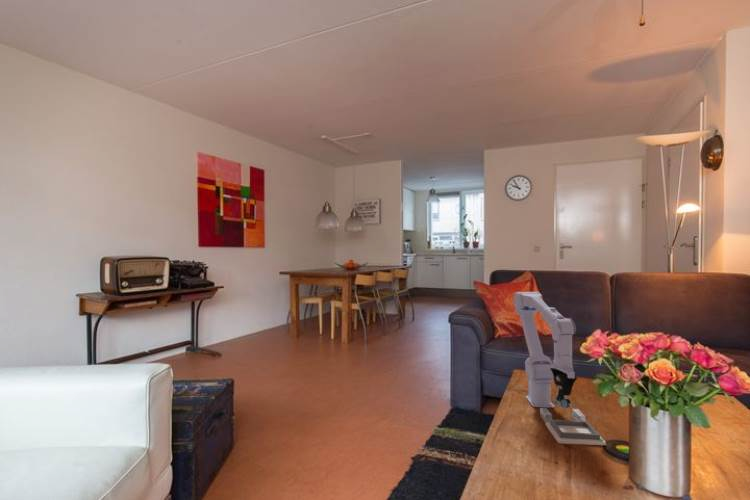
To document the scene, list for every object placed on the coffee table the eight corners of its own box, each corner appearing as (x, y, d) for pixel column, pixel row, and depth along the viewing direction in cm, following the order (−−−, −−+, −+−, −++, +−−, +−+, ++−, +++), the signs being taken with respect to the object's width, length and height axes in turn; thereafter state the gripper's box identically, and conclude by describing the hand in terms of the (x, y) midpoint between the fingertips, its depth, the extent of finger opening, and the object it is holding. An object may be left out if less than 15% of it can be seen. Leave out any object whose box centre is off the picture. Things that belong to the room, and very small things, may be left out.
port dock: (545, 425, 131) (545, 417, 131) (588, 426, 130) (588, 419, 130) (558, 443, 120) (558, 435, 119) (605, 445, 118) (605, 437, 118)
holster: (540, 415, 138) (540, 407, 138) (578, 417, 137) (578, 408, 137) (546, 423, 132) (546, 415, 132) (585, 425, 131) (585, 416, 131)
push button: (577, 408, 131) (577, 379, 131) (565, 411, 129) (565, 381, 129) (562, 401, 137) (561, 373, 137) (550, 403, 135) (550, 375, 135)
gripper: (544, 347, 141) (544, 384, 141) (558, 359, 127) (559, 399, 127) (564, 347, 141) (564, 384, 141) (581, 359, 126) (581, 400, 126)
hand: (563, 391), depth 134 cm, fingers closed on push button, 5 cm apart
